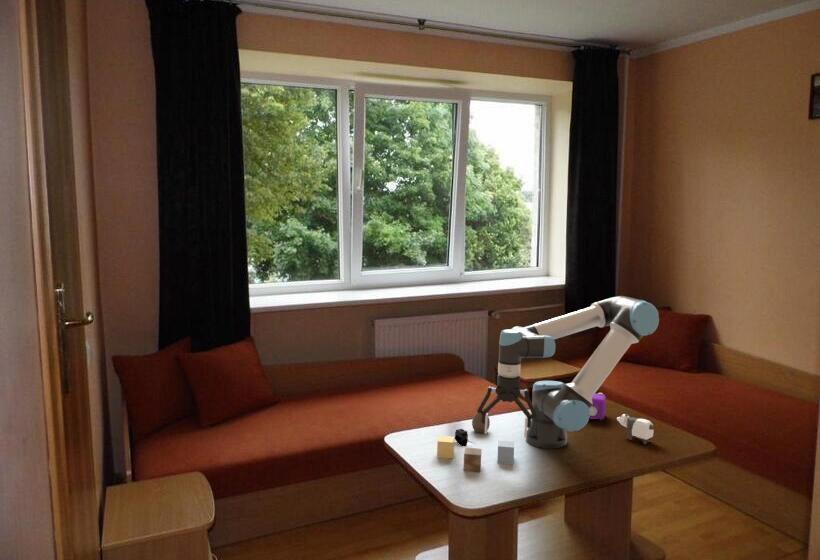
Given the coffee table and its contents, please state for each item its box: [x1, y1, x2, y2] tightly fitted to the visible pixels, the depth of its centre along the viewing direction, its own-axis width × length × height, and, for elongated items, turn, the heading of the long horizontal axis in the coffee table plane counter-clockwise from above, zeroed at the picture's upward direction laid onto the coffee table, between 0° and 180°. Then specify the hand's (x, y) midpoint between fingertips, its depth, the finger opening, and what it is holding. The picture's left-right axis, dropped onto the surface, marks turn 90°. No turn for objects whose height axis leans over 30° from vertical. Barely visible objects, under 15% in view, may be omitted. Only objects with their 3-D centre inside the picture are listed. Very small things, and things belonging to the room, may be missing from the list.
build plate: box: [454, 428, 475, 447], centre depth 232 cm, size 12×7×5 cm, turn 32°
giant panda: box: [616, 412, 655, 442], centre depth 237 cm, size 15×6×10 cm, turn 43°
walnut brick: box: [463, 447, 482, 473], centre depth 208 cm, size 6×6×6 cm
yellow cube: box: [436, 435, 455, 459], centre depth 218 cm, size 6×6×6 cm
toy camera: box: [589, 392, 607, 420], centre depth 260 cm, size 11×14×10 cm
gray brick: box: [497, 440, 515, 465], centre depth 215 cm, size 6×6×6 cm
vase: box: [471, 408, 491, 434], centre depth 242 cm, size 7×7×9 cm
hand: (505, 434), depth 214 cm, fingers open, 13 cm apart
